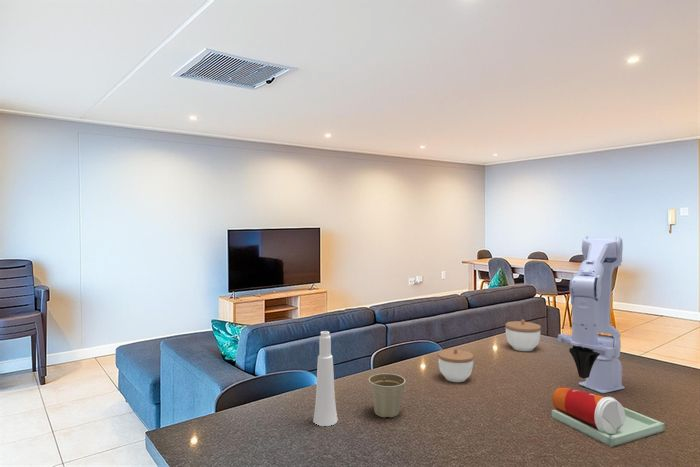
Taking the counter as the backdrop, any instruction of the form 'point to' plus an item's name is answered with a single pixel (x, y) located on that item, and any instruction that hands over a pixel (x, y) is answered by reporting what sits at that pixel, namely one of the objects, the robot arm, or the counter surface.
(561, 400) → the coffee cup
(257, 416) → the counter surface
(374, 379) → the flower pot
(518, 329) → the lidded bowl
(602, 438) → the tray
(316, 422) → the cosmetic bottle
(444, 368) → the lidded jar
